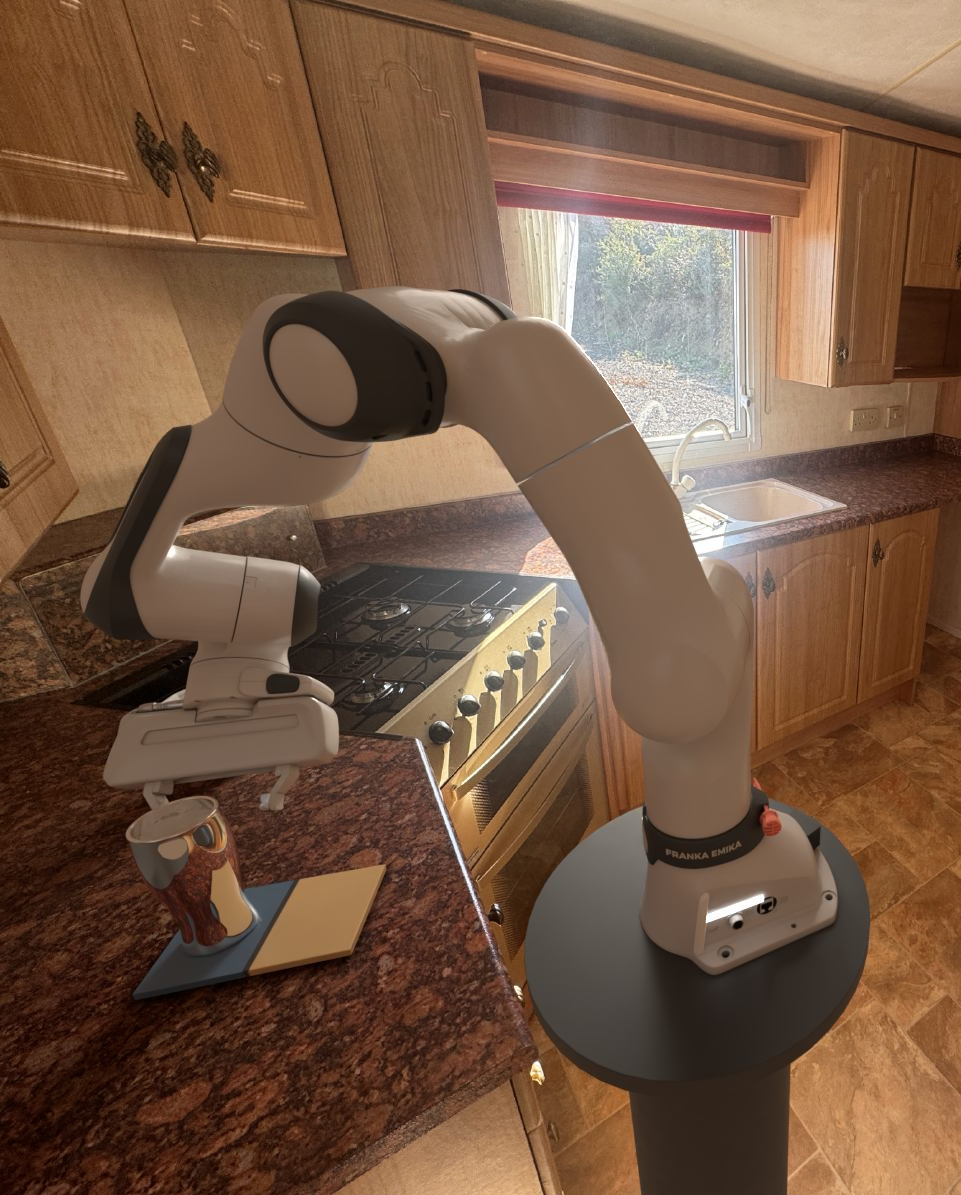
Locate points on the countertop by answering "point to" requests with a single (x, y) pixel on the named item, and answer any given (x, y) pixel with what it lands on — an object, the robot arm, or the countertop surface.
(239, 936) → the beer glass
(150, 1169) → the countertop surface
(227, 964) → the sorting board
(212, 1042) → the countertop surface
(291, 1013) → the countertop surface
